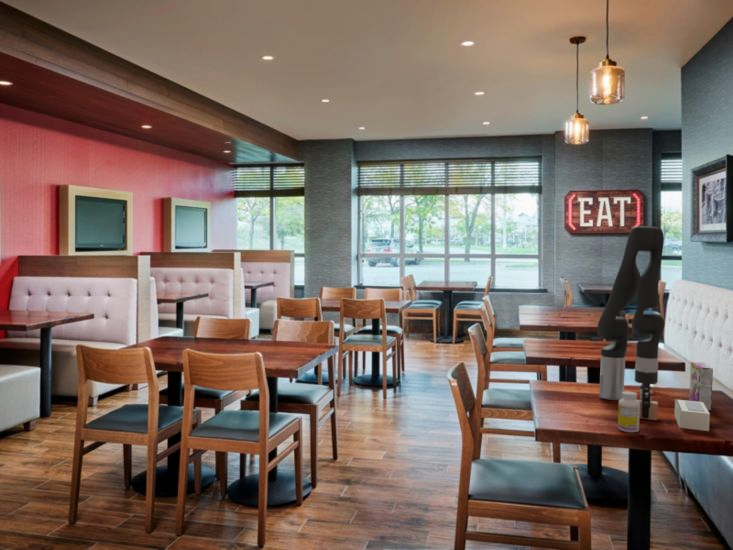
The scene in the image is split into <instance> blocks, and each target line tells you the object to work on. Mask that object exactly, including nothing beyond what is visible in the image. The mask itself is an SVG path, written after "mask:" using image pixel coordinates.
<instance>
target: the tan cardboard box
mask: <svg viewBox="0 0 733 550" xmlns="http://www.w3.org/2000/svg"><path fill="white" fill-rule="evenodd" d="M636 400H637V401H639V403H640V416H639V419H643V420H652V421H658V413H659V412H658V410H659V409H658V408H659V407H658V406H659V403H658V401H655V400H651V401H650V408H649V417H648V418H642V406H641V405H642V401H641V400H640V399H637V398H636ZM644 404H648V402H644Z"/></svg>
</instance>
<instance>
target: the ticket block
mask: <svg viewBox="0 0 733 550" xmlns="http://www.w3.org/2000/svg"><path fill="white" fill-rule="evenodd" d="M710 416H711V413H710V412H709V410H707V408H706V407H705V405H704V403H703V402H696V401H689V400H683V399H674V418H675V420H676V423H677V425H678V428H679V429H686V430H687V429H689V430H697V431H706V432H709V431H710V418H711V417H710Z"/></svg>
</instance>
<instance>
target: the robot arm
mask: <svg viewBox="0 0 733 550" xmlns="http://www.w3.org/2000/svg"><path fill="white" fill-rule="evenodd" d="M664 239H665V237H664V232H663V230H662V229H661V227H658V226H657V227H656V226H648V225H647V226H644V225H636V226H633V227H632V228H631V230H630V232H629V234H628V237H627V241H626V245H625V249H624V251H623V252H624V253H623V256H622V257H623V258H622V261H621V264H620V266H619V269H618V272H617V275H616V277H615V279H614V282H613V286H612V289H611V292H610V295H609V298H608V300H607V302H606V305H605V308H604V309H603V311H602V314H601V315H600V317H599V320H598V322H597V327H596V329H597V332H596V333H597V335H598V337H599V338H600V339H602V340H612V342H611V343H610V344H608V345H605V346H604V347H602V348H601V349H600V373H599V398H600V399H605V400H611V401H619V400H620V399H622V398H623V397H622V392H623V391H625V375H626V372H625V371H626V353H627V348H628V339H629V323H628V321H627V318H625V317H624V316H618V315H619V313H620V312H621V311H622V310H624V309H625V308H626V307H627V306H628V305H629V304H630V303H632V302H633V301H634V300H635V299H636V297H637V299H636V300H637V301H636V306H635V307H636V308H635V312H634V316H633V318H632V322H631V327H632V330H633V331H634V332H635V333H636V334H643V335H651V336H650V337H649V338H646V339H640V340H638V341H637V343H636V352H635V353H636V355H635V357H636V358H635V362H634V363H635V364H634V365H635V366H634V382H636V383H638V384H640V385H639V398H640V399H639V400H641V401H642V405H641V406H642V418H648V417H649V408H650V401H652V394H653V389H652V387H651V385H656V384H658V377H659V360H658V357H659V354H658V353H659V344H660V341H661V337H662V335H663V332H664V329H665V324H666V323H665V320H664V318H663V317H662V316H661V315H659V314H644V312H645V311H646V310H649V309H655V308H657V307H658V306H659V302H660V301H659V277H660V272H661V265H662V258H663V257H662V256H663V249H664V243H665V242H664V241H665V240H664ZM639 252H646V253H647V252H649V253H650V254H649V262H648V264H647V266H646V268H645V269H644V271H643V273H642V274H641V273H640V270H639V268H638V265H637V256H638V253H639ZM644 402H648V404H644ZM642 418H641V419H642Z"/></svg>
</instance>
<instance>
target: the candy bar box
mask: <svg viewBox="0 0 733 550" xmlns="http://www.w3.org/2000/svg"><path fill="white" fill-rule="evenodd" d="M713 373H714V369H713V367H711V366H709V365H707V364H706V363H704V362H697V361H696V362H694V361H691V362H690V373H689V374H690V375H689V376H690V377H689V380H690V381H689V400H688V401H696V402H703V403H704V405H705V407H706V408H707V410H708V411H712V403H713V401H712V400H713V399H712V398H713V375H714V374H713Z"/></svg>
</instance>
